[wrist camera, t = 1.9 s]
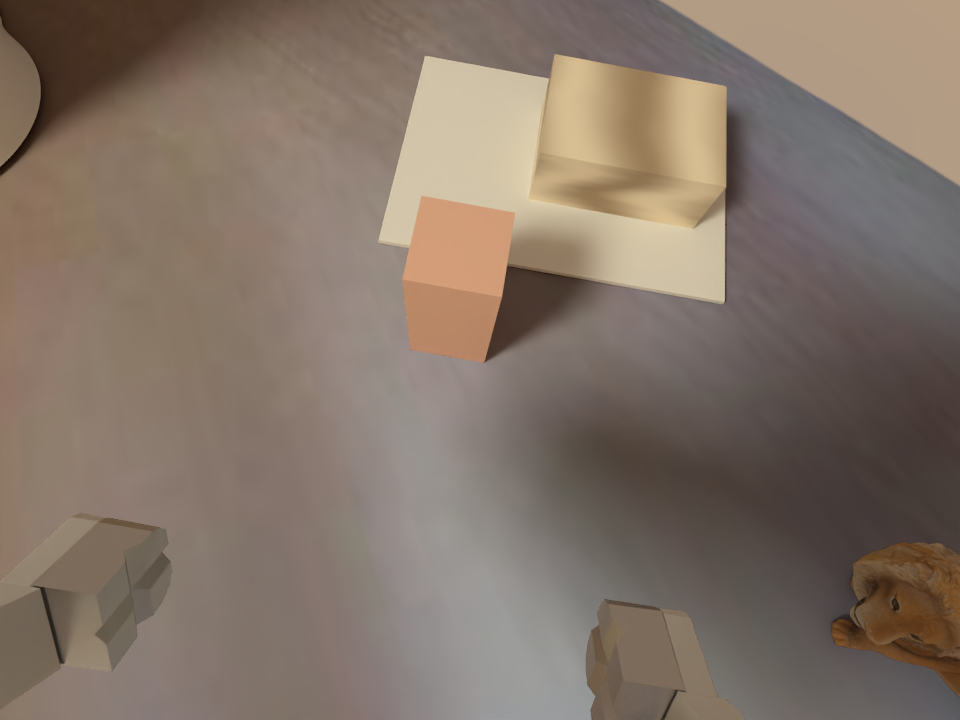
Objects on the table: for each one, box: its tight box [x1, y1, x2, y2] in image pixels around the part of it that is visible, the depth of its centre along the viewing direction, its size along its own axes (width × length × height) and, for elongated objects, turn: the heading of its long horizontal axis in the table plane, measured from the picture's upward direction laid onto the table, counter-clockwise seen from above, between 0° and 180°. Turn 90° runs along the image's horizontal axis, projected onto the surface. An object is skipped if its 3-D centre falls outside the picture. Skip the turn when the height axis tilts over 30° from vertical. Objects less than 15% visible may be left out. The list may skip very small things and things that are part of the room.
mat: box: [379, 56, 725, 304], centre depth 33 cm, size 20×14×1 cm
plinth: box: [528, 54, 726, 229], centre depth 32 cm, size 10×7×4 cm
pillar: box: [402, 196, 515, 362], centre depth 26 cm, size 4×4×8 cm
